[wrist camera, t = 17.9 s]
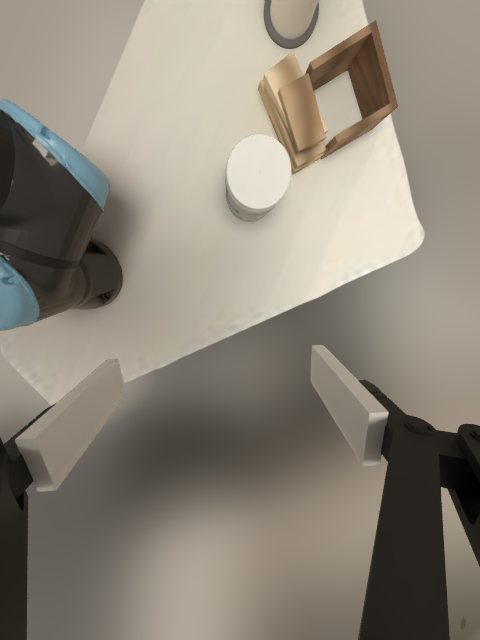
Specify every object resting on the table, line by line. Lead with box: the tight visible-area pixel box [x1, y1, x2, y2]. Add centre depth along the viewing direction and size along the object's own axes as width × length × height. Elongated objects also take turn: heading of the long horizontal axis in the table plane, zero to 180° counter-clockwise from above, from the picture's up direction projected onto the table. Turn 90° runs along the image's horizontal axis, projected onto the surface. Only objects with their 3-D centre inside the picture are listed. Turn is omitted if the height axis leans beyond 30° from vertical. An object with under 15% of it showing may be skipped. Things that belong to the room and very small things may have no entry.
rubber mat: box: [264, 0, 319, 49], centre depth 37 cm, size 9×9×1 cm
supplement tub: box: [225, 134, 291, 221], centre depth 38 cm, size 10×10×15 cm
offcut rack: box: [258, 21, 398, 174], centre depth 38 cm, size 17×15×7 cm
